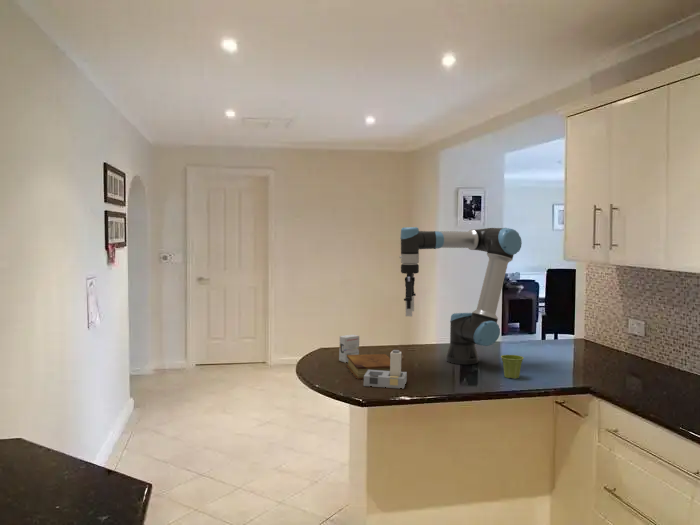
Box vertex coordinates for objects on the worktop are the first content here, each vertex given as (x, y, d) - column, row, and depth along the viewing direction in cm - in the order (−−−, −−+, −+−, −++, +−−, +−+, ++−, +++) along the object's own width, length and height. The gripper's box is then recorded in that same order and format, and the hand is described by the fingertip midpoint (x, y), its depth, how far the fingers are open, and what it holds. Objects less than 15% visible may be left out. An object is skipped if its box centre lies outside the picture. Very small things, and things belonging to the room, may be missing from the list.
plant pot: (495, 375, 260) (496, 355, 260) (513, 373, 264) (514, 353, 264) (509, 380, 252) (510, 360, 251) (527, 378, 256) (528, 358, 255)
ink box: (352, 358, 288) (353, 334, 287) (359, 360, 284) (360, 335, 283) (338, 360, 283) (338, 335, 282) (345, 363, 279) (345, 337, 278)
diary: (400, 379, 254) (400, 365, 253) (356, 380, 250) (357, 367, 250) (386, 365, 276) (386, 353, 276) (346, 367, 273) (346, 354, 272)
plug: (400, 381, 244) (401, 349, 243) (399, 383, 240) (400, 351, 240) (390, 380, 245) (391, 349, 244) (389, 382, 241) (390, 351, 240)
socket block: (406, 381, 247) (406, 371, 247) (403, 388, 236) (404, 378, 236) (368, 379, 250) (368, 369, 250) (363, 386, 239) (363, 375, 239)
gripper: (403, 261, 268) (403, 308, 270) (398, 266, 244) (398, 318, 245) (420, 261, 267) (420, 309, 269) (417, 266, 242) (417, 318, 244)
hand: (410, 313), depth 257 cm, fingers open, 13 cm apart
